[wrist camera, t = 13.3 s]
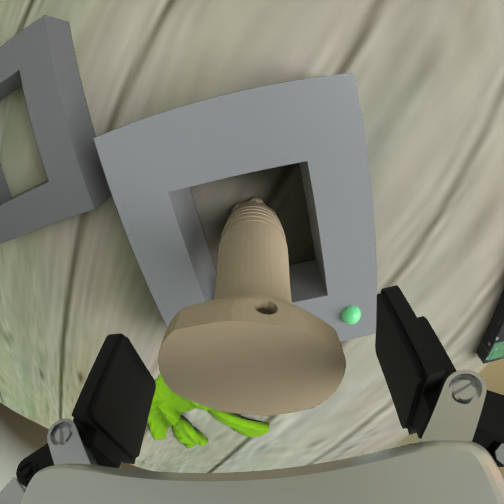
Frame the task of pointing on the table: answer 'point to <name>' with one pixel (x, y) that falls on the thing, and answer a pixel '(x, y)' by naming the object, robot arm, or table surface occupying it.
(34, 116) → the grey square frame
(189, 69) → the table surface
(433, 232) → the table surface
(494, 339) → the disk drive
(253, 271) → the handle
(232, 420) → the cloth
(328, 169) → the port block
